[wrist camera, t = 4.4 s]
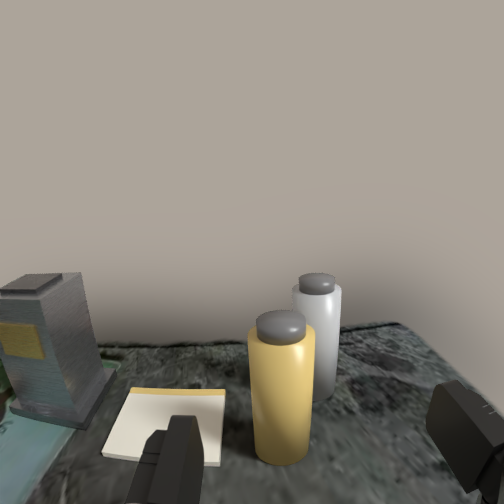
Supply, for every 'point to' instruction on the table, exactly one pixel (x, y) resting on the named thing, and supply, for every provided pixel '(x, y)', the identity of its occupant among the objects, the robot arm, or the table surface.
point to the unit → (52, 350)
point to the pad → (166, 420)
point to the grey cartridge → (321, 326)
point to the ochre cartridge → (281, 385)
